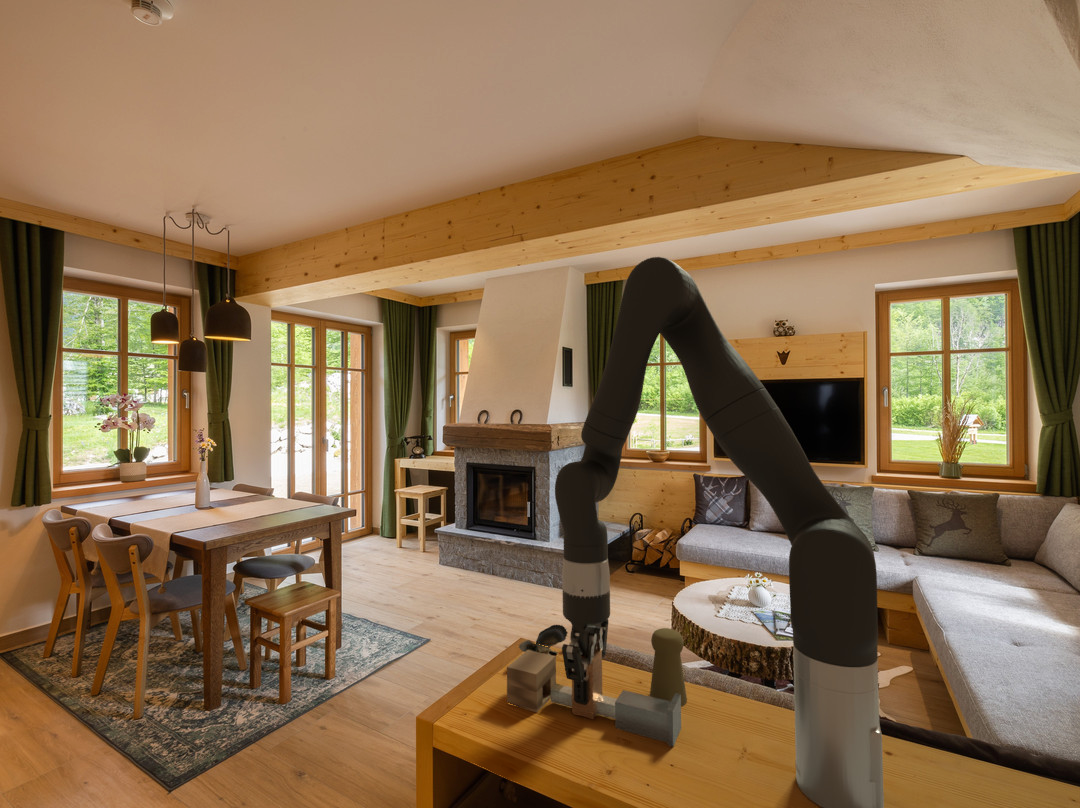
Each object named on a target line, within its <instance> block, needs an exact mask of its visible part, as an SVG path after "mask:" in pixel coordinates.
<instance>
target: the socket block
mask: <svg viewBox="0 0 1080 808" xmlns="http://www.w3.org/2000/svg"><path fill="white" fill-rule="evenodd" d="M556 662H557V656H556V655H552V654H550V655H548V654H544V653H539V652H535V651H530V650H527V651H526V652H523V653H522V654H520V655H519V656H518V657H517V658H516V659H515V660H513V661H512V662H511V663H510V664H509V665H508V666H507V667H506V703H507V702H508V703H510V704H513V705H516V706H518V707H517V708H519V707H521V708H520V709H522V708H523V709H522V710H527V711H530V712H533V713H539V711H540V710H541V709H542V708H543V707H544V706H545V705H546V704H547V702H548V701H549V700H551V688H552V687H553V686H554V685H555V684H557V663H556Z"/></svg>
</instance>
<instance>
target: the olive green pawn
mask: <svg viewBox="0 0 1080 808" xmlns="http://www.w3.org/2000/svg"><path fill="white" fill-rule="evenodd" d="M650 641H651V646H652V649H653V651H654V656H653V665H652V673H651V681H650V682H651V683H650V691H649V696H650V697H654V698H658V699H662V700H667V701H672V699H673V697H674V695H675V693H677V694H681V708H682V707H684V706H685V705H686V704H687V703H688V696H687V689H686V683H685V677H684V670H683V663H682V657H681V653H682V651H683V649H684V638H683V636H682V635H681V633H680V632H679V631H678V630H675V629H673V628H666V627H664V628H658V629H656V630H655V631H654V632H653V633H652V635H651V640H650Z"/></svg>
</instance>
